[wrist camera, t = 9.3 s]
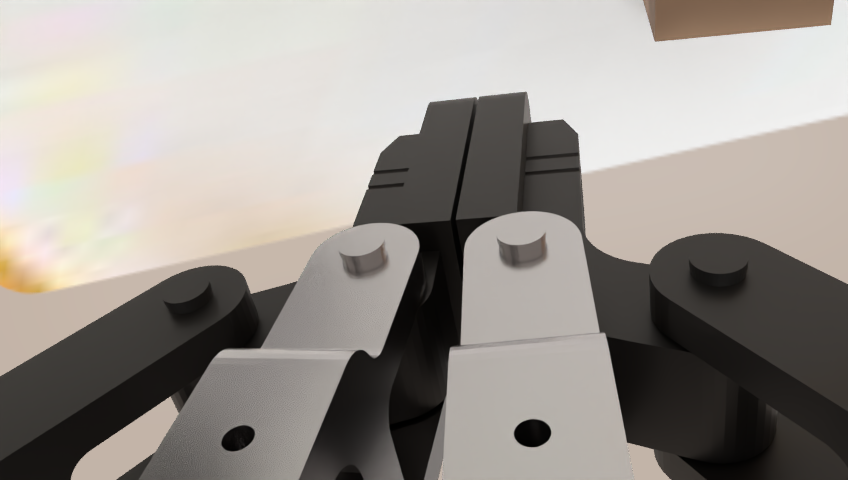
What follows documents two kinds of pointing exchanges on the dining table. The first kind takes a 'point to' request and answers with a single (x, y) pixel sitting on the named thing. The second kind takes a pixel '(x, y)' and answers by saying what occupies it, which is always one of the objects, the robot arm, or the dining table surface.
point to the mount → (732, 16)
